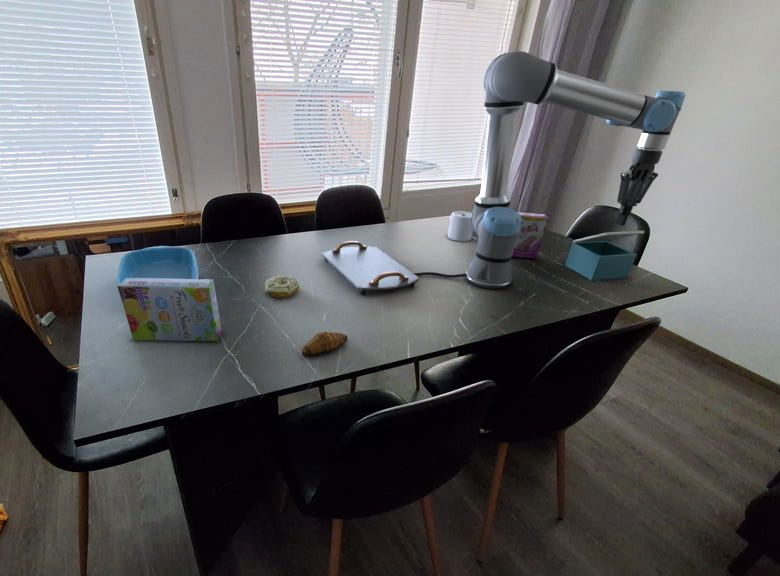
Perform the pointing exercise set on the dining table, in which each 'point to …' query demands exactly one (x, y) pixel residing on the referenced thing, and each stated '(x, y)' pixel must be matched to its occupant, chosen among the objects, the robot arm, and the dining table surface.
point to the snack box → (171, 309)
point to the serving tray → (369, 267)
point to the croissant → (324, 343)
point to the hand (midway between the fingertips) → (619, 224)
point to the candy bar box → (529, 235)
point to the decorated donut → (281, 286)
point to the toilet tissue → (461, 226)
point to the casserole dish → (158, 264)
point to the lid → (608, 236)
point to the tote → (600, 260)
